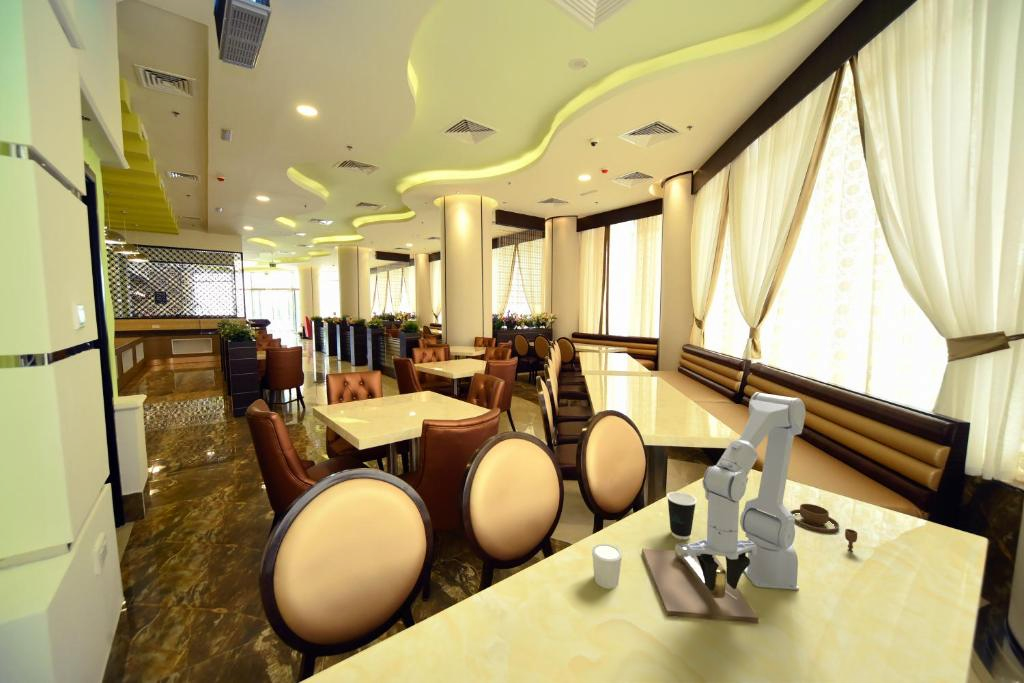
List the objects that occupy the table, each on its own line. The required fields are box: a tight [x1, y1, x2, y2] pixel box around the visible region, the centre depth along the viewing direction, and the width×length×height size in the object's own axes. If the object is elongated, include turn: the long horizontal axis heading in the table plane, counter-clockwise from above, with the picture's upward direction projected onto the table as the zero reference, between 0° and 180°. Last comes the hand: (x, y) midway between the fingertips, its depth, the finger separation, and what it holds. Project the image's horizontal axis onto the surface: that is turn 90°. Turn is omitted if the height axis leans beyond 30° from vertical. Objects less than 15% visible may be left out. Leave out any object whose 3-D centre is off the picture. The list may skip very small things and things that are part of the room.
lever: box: [674, 542, 726, 598], centre depth 89 cm, size 4×18×7 cm, turn 2°
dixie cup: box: [666, 491, 698, 541], centre depth 110 cm, size 8×8×11 cm
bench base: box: [641, 548, 760, 624], centre depth 90 cm, size 18×22×1 cm
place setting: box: [789, 503, 858, 553], centre depth 114 cm, size 18×20×6 cm
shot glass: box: [591, 543, 623, 589], centre depth 91 cm, size 7×7×7 cm
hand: (720, 586), depth 82 cm, fingers open, 4 cm apart
